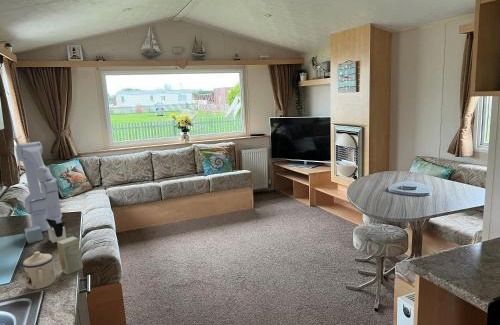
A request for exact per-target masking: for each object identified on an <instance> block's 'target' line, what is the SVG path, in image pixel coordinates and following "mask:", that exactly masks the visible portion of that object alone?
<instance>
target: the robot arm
mask: <svg viewBox="0 0 500 325" xmlns="http://www.w3.org/2000/svg"><path fill="white" fill-rule="evenodd" d="M15 151H16V156H17V160H18V161H19V162H22V164H23V167H24V171H25V172H24V173H25V177H26V181H27V182H26V183H27V187H28V192H29V194H28V195H27V196H26V197H25V198H24V209H25V211H26V214H27V215H30V222H31V227H34V226H39V227H40V228H41V230H42V232H46V231H48V228H51V227H53V228H54V231H55V234H56V236H57V237H61V236H62V233H63V227H64V226H65V223H66V221H65V220H62V217H63V213H62V210H61V203H60V197H59V196H60V195H59V191H60V184H59V181H58V179H57V178H55V177H54V176H53V174H52V172H51V171H50V168H49V167H46V166H45V163H44V160H43V158H42V155H43V145H42V143H41V142H40V141H32V142H26V143H17V144H16V146H15Z"/></svg>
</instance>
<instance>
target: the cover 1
mask: <svg viewBox="0 0 500 325" xmlns="http://www.w3.org/2000/svg"><path fill="white" fill-rule="evenodd" d="M24 234H25V240H26V242H27V243H28V244H31V243H36V242H39V241H43V240H44V237H43V231H42V230H41V228H40V227H39V226H34V227H32V226H31V227H26V228H24Z"/></svg>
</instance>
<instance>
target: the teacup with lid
mask: <svg viewBox="0 0 500 325" xmlns="http://www.w3.org/2000/svg"><path fill="white" fill-rule="evenodd" d="M53 259H54V257H53V255H52V254H50V253H41V252H40V251H39V250H38V251H35V252H33V254H32V255H31V256H30V257H28V258H26V259H25V260H23V263H22V266H23V269H24V274H25V275H24V277H25V281H26V287H27V288H28V289H30V290H40V288H41V289H44V287H45V288H47V287H50V286H51V285H53V284H54V283H55V281H56V275H55V268H54V262H53Z"/></svg>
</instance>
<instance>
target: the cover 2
mask: <svg viewBox="0 0 500 325" xmlns="http://www.w3.org/2000/svg"><path fill="white" fill-rule="evenodd" d="M65 228H66V227H64V226H63V233H62V236H61V237H57V236H56V234H55V231H54V228H53V227H51V228H48V230H47V232H48V239H49V241H50V242H51V243H52V244H55V243H57V242H58V241H61V240H64V239H66V238H67V234H66V229H65Z"/></svg>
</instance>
